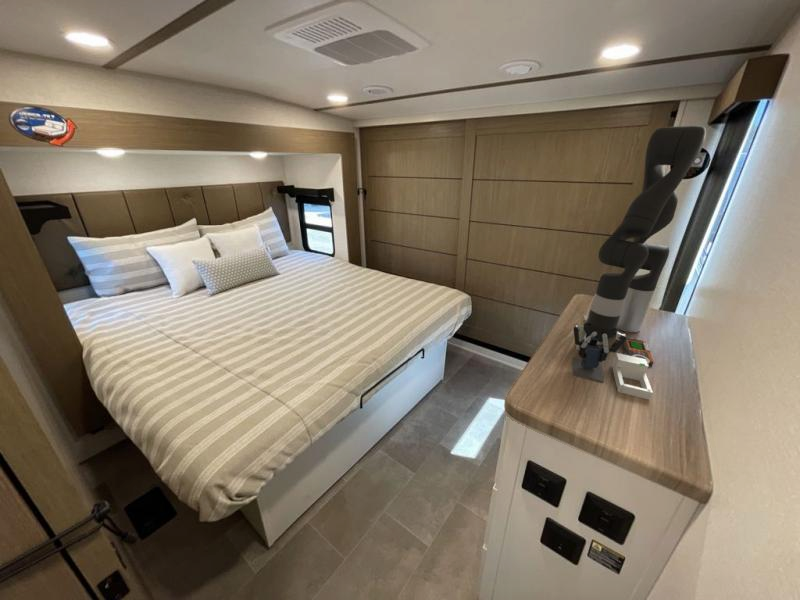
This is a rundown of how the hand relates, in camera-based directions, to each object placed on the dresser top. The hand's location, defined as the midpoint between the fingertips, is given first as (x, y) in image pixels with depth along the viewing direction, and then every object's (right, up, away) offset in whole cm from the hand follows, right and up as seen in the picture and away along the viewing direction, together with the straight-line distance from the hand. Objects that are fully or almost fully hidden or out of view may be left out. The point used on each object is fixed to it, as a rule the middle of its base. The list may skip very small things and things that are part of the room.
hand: (590, 358), depth 95 cm
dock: (+12, -4, 0) cm, 12 cm away
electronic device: (+21, -1, +9) cm, 23 cm away
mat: (0, -4, +2) cm, 4 cm away
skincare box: (+6, +1, +12) cm, 14 cm away
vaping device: (0, -3, +1) cm, 3 cm away
